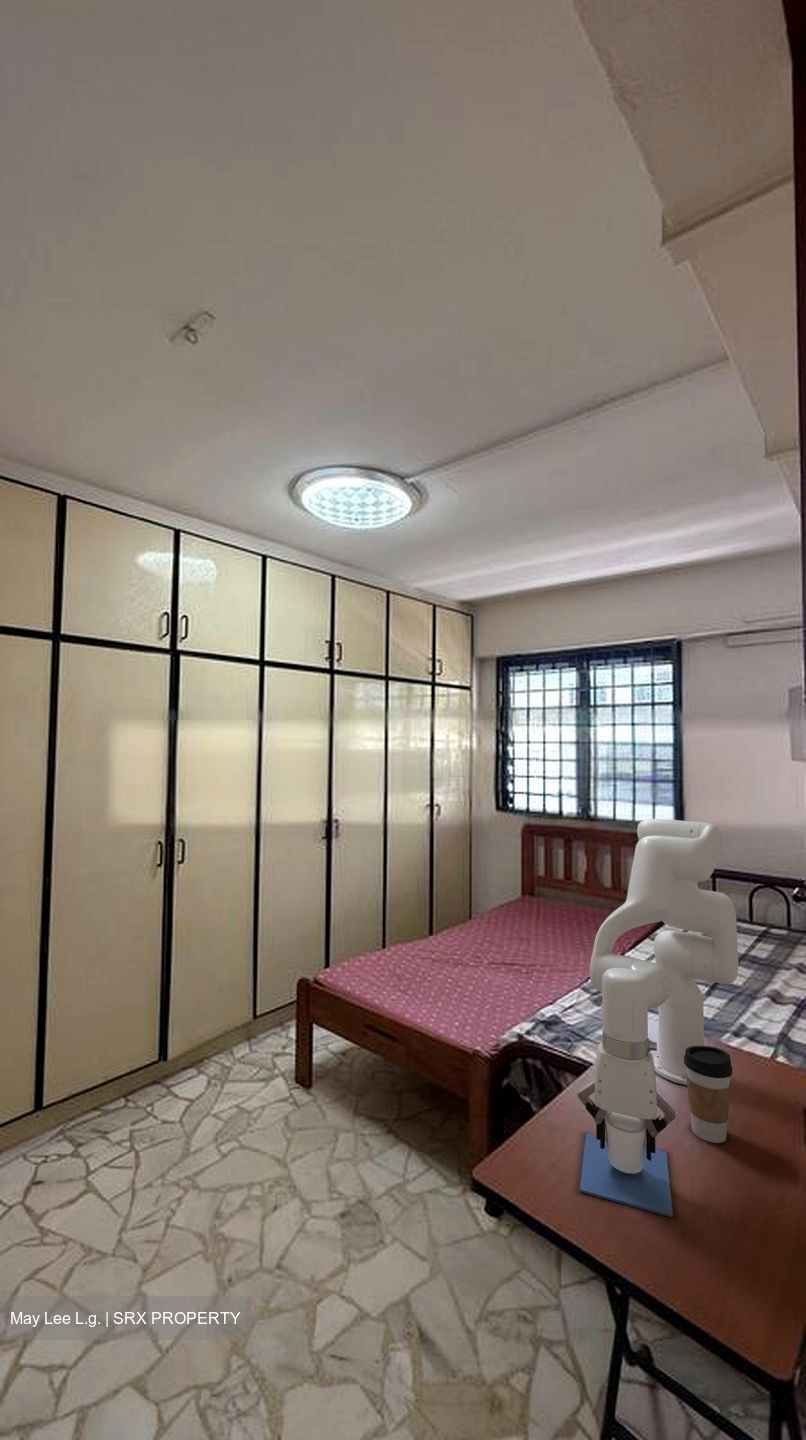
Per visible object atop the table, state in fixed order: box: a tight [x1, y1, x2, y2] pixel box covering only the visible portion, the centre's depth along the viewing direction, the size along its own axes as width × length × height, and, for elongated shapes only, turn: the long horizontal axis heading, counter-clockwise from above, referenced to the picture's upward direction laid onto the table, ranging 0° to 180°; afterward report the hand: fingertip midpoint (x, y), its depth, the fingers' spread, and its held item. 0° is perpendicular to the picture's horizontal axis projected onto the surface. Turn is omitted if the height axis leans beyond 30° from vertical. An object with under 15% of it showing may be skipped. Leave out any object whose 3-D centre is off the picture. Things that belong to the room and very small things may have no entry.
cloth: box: [579, 1132, 674, 1218], centre depth 101 cm, size 16×14×1 cm
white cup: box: [604, 1111, 646, 1174], centre depth 101 cm, size 7×7×7 cm
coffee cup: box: [684, 1045, 733, 1144], centre depth 113 cm, size 8×8×15 cm
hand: (625, 1148), depth 101 cm, fingers closed on white cup, 6 cm apart
